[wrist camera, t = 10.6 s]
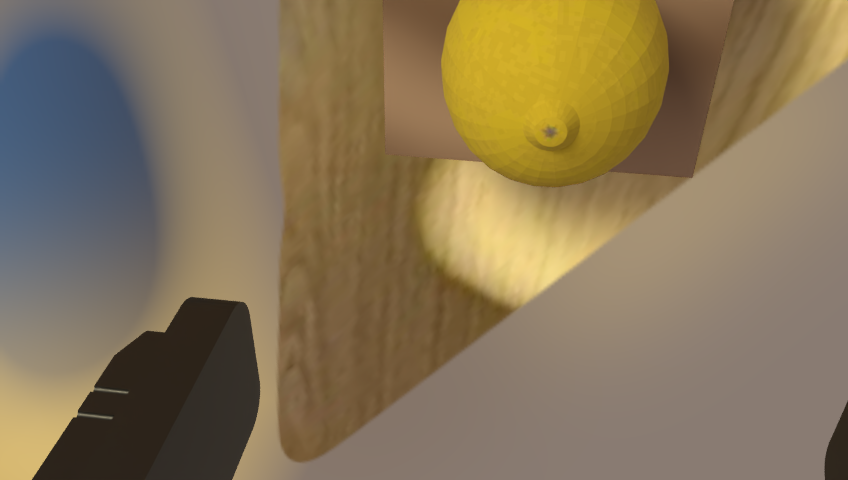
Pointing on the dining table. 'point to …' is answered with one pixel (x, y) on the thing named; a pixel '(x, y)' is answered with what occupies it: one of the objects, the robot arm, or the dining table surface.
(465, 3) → the lemon
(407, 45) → the stool
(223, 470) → the robot arm
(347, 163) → the dining table surface
